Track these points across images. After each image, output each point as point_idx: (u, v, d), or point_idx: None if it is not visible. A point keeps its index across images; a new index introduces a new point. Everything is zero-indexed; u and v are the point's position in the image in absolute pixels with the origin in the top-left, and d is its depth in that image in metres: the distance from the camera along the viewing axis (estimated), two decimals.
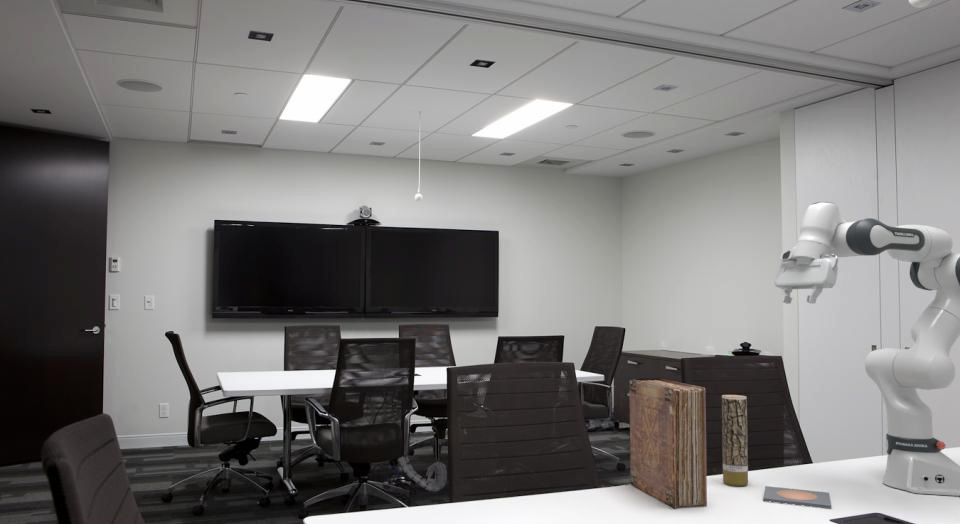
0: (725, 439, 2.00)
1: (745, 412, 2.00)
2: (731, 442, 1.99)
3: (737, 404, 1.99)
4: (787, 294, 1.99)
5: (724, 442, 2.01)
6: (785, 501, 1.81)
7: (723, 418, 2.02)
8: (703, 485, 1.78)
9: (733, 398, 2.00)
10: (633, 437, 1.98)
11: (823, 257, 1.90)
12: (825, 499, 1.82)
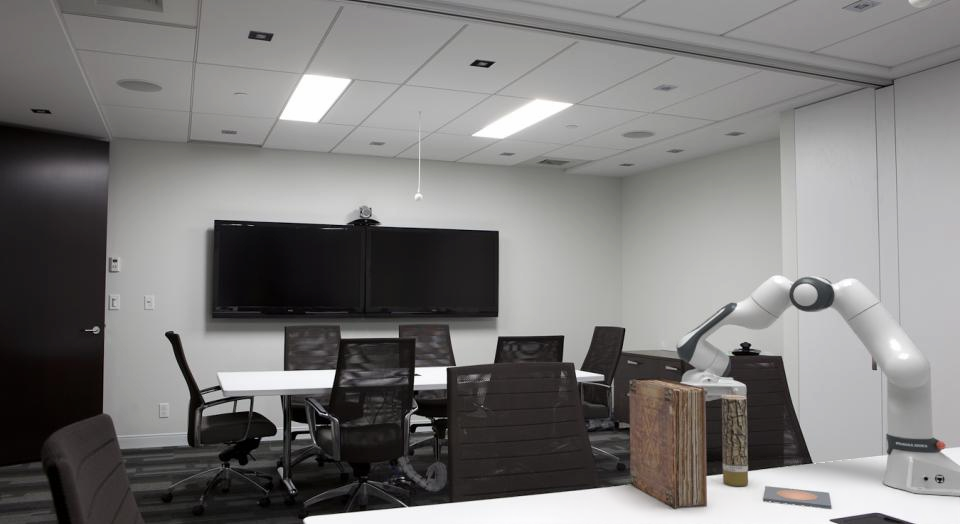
0: (725, 439, 2.00)
1: (745, 412, 2.00)
2: (731, 442, 1.99)
3: (737, 404, 1.99)
4: None
5: (724, 442, 2.01)
6: (785, 501, 1.81)
7: (723, 418, 2.02)
8: (703, 485, 1.78)
9: (733, 398, 2.00)
10: (633, 437, 1.98)
11: None
12: (825, 499, 1.82)
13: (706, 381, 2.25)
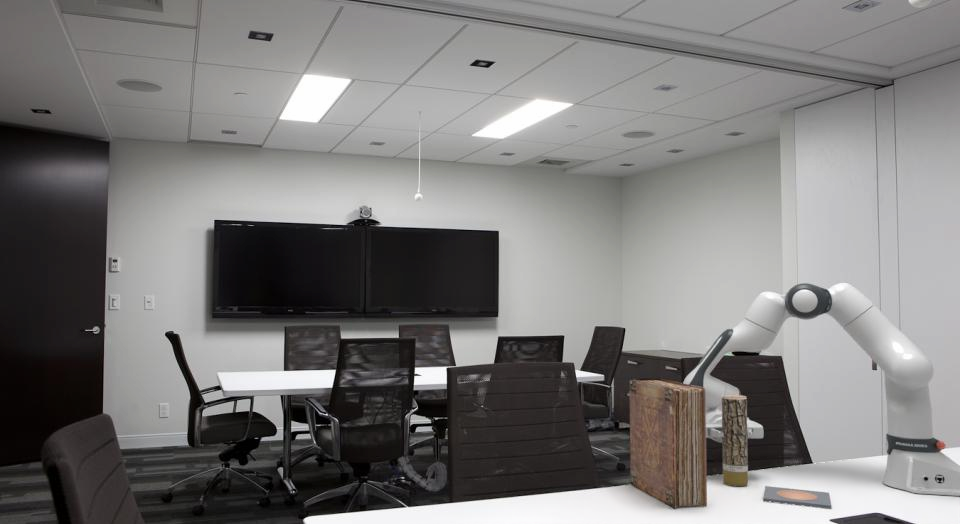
0: (725, 439, 2.00)
1: (745, 412, 2.00)
2: (731, 442, 1.99)
3: (737, 404, 1.99)
4: None
5: (724, 442, 2.01)
6: (785, 501, 1.81)
7: (723, 418, 2.02)
8: (703, 485, 1.78)
9: (733, 398, 2.00)
10: (633, 437, 1.98)
11: None
12: (825, 499, 1.82)
13: (720, 422, 2.11)
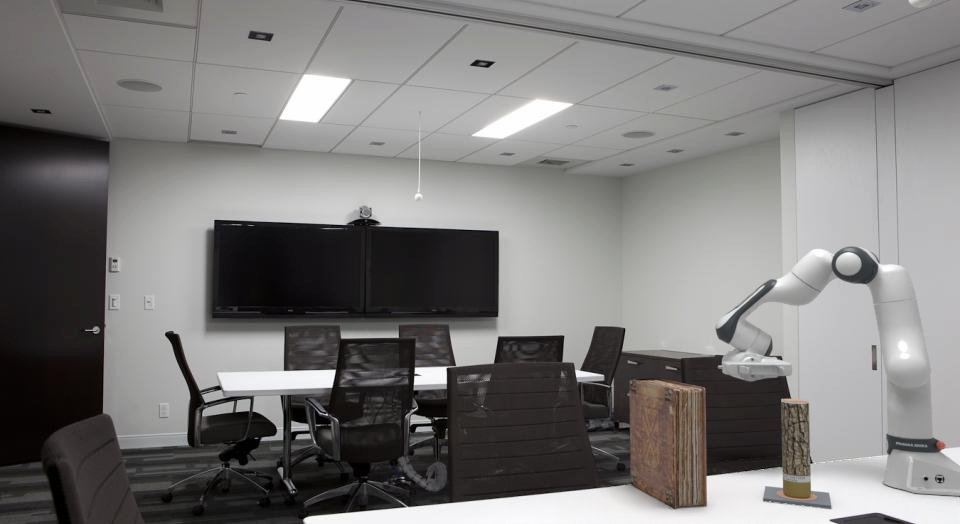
0: (786, 447, 1.85)
1: (807, 417, 1.84)
2: (792, 450, 1.84)
3: (799, 408, 1.84)
4: None
5: (784, 450, 1.86)
6: (785, 501, 1.81)
7: (783, 424, 1.86)
8: (703, 485, 1.78)
9: (794, 402, 1.84)
10: (633, 437, 1.98)
11: None
12: (825, 499, 1.82)
13: (749, 360, 2.18)
